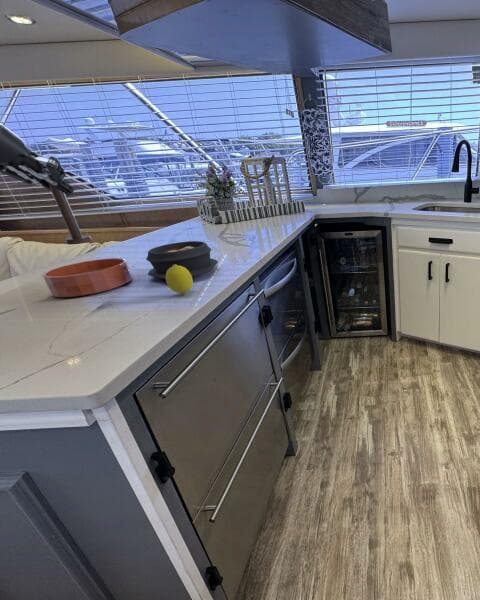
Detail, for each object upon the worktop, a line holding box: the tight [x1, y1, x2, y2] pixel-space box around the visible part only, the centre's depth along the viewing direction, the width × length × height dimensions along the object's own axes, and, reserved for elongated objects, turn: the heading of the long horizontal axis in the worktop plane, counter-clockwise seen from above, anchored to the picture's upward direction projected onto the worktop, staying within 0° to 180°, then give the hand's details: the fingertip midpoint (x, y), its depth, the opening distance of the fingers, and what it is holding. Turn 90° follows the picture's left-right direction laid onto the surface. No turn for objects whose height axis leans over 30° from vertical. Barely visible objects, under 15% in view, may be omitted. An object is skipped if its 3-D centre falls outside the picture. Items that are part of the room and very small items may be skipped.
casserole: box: [145, 240, 219, 280], centre depth 99 cm, size 25×19×8 cm
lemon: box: [165, 265, 194, 295], centre depth 81 cm, size 6×6×8 cm
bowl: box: [41, 257, 133, 298], centre depth 90 cm, size 17×17×6 cm
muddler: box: [47, 174, 93, 246], centre depth 78 cm, size 5×5×16 cm
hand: (66, 192), depth 78 cm, fingers closed on muddler
